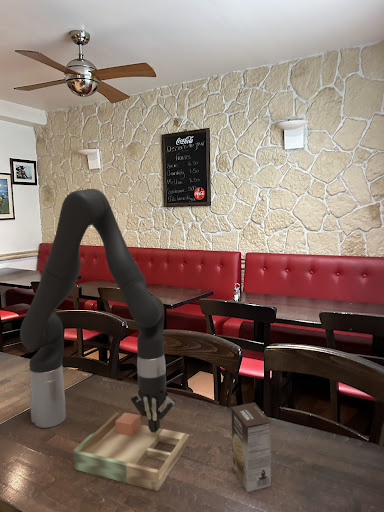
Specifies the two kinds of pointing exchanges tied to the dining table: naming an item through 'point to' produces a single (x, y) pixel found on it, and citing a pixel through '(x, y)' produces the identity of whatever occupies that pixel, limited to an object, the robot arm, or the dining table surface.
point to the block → (128, 424)
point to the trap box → (129, 454)
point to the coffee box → (251, 446)
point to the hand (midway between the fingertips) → (154, 430)
